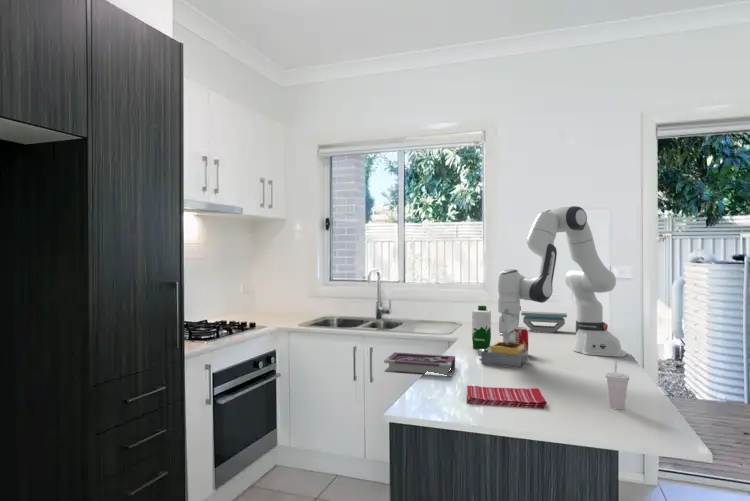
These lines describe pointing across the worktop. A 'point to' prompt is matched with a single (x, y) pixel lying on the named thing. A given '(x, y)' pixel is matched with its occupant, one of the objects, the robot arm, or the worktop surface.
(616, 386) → the smoothie
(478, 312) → the milk carton
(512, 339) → the spout can
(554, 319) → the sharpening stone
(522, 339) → the soda can
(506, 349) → the grey gold framed box
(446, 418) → the worktop surface
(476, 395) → the dish towel
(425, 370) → the book
